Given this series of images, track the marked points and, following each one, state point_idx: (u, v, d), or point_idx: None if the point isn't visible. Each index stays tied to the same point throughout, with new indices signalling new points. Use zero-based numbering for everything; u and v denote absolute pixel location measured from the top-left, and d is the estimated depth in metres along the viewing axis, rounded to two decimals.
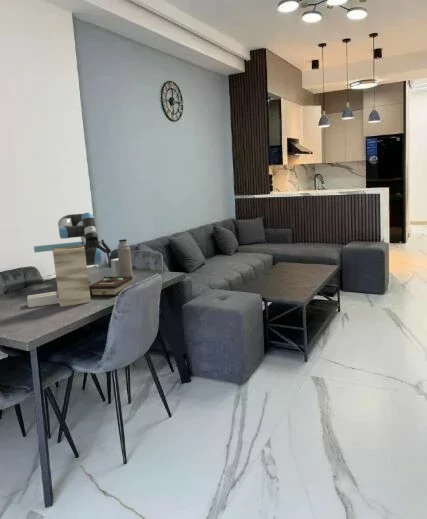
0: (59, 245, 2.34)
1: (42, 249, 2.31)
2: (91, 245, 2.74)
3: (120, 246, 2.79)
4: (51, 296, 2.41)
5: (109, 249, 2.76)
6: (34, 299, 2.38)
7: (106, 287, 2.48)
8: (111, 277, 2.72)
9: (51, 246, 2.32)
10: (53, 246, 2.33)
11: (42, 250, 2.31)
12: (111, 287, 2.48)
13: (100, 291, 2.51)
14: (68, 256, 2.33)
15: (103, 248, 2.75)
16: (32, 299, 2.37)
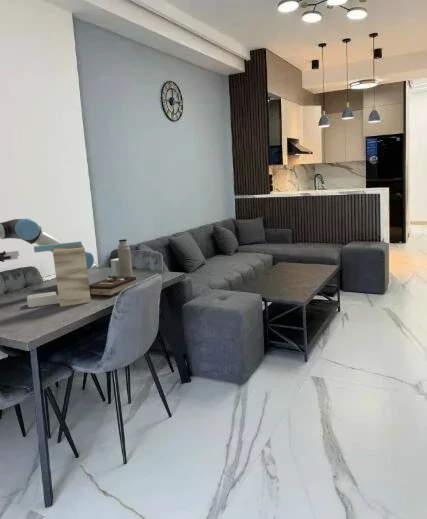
0: (59, 245, 2.34)
1: (42, 249, 2.31)
2: None
3: (120, 246, 2.79)
4: (51, 296, 2.41)
5: None
6: (34, 299, 2.38)
7: (103, 287, 2.48)
8: None
9: (51, 246, 2.32)
10: (53, 246, 2.33)
11: (42, 250, 2.31)
12: (107, 288, 2.47)
13: (98, 291, 2.51)
14: (68, 256, 2.33)
15: None
16: (32, 299, 2.37)
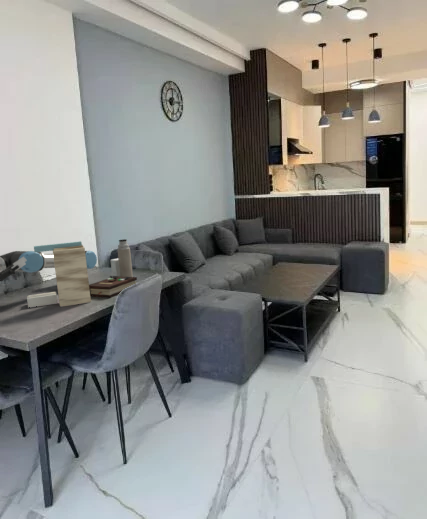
0: (59, 245, 2.34)
1: (42, 249, 2.31)
2: None
3: (120, 246, 2.79)
4: (51, 296, 2.41)
5: (10, 274, 2.20)
6: (34, 299, 2.38)
7: (102, 287, 2.48)
8: (117, 277, 2.72)
9: (51, 246, 2.32)
10: (53, 246, 2.33)
11: (42, 250, 2.31)
12: (106, 288, 2.47)
13: (97, 291, 2.51)
14: (68, 256, 2.33)
15: None
16: (32, 299, 2.37)
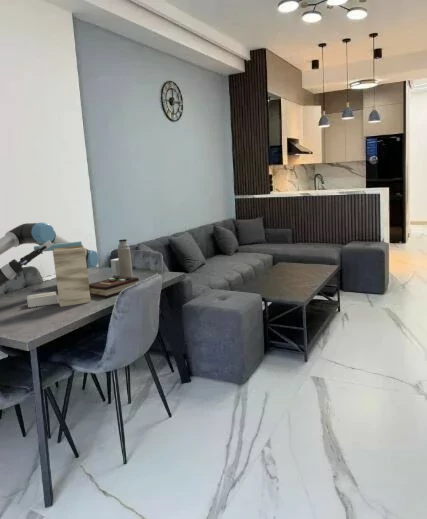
0: (59, 245, 2.34)
1: None
2: None
3: (120, 246, 2.79)
4: (51, 296, 2.41)
5: (38, 254, 2.27)
6: (34, 299, 2.38)
7: (99, 287, 2.49)
8: (121, 277, 2.72)
9: (51, 246, 2.32)
10: (53, 246, 2.33)
11: None
12: (103, 288, 2.47)
13: (96, 291, 2.52)
14: (68, 256, 2.33)
15: None
16: (32, 299, 2.37)
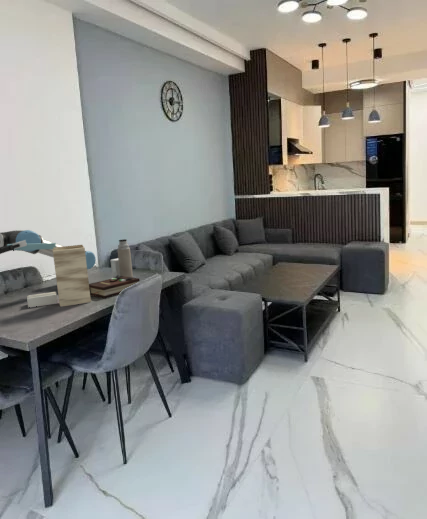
0: (33, 245, 2.34)
1: None
2: None
3: (120, 246, 2.79)
4: (51, 296, 2.41)
5: (9, 250, 2.27)
6: (34, 299, 2.38)
7: (98, 287, 2.49)
8: (123, 277, 2.71)
9: None
10: (27, 245, 2.33)
11: (15, 249, 2.31)
12: (101, 288, 2.47)
13: (95, 290, 2.53)
14: (68, 256, 2.33)
15: None
16: (32, 299, 2.37)
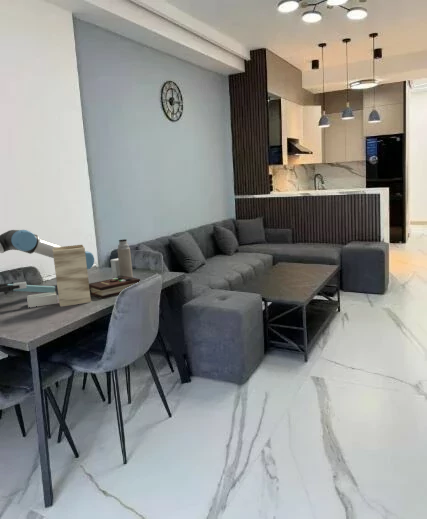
0: (32, 287, 2.39)
1: (15, 289, 2.36)
2: None
3: (120, 246, 2.79)
4: (51, 296, 2.41)
5: (8, 290, 2.32)
6: (34, 299, 2.38)
7: (96, 287, 2.49)
8: (126, 277, 2.70)
9: None
10: None
11: (15, 289, 2.36)
12: (99, 288, 2.47)
13: (95, 290, 2.54)
14: (68, 256, 2.33)
15: None
16: (32, 299, 2.37)
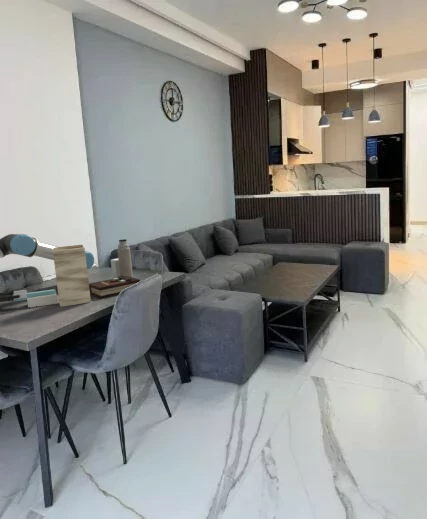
0: (33, 294, 2.40)
1: (17, 299, 2.37)
2: None
3: (120, 246, 2.79)
4: (51, 296, 2.41)
5: (8, 300, 2.31)
6: (34, 299, 2.38)
7: (96, 287, 2.50)
8: (127, 277, 2.69)
9: None
10: (27, 295, 2.39)
11: (16, 299, 2.37)
12: (98, 288, 2.47)
13: None
14: (68, 256, 2.33)
15: None
16: (32, 299, 2.37)
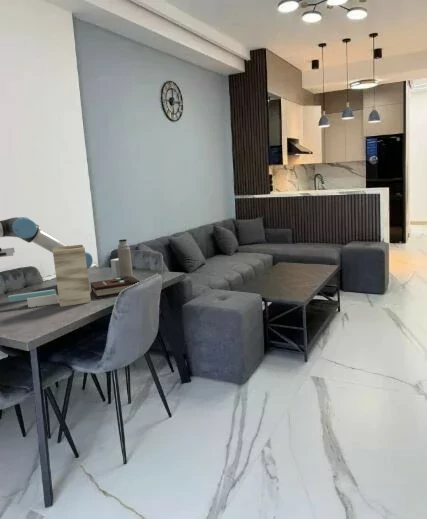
0: (33, 294, 2.40)
1: (17, 299, 2.37)
2: None
3: (120, 246, 2.79)
4: (51, 296, 2.41)
5: None
6: (34, 299, 2.38)
7: (93, 287, 2.51)
8: (130, 277, 2.67)
9: (25, 295, 2.38)
10: (27, 295, 2.39)
11: (16, 299, 2.37)
12: (94, 288, 2.48)
13: (94, 289, 2.56)
14: (68, 256, 2.33)
15: None
16: (32, 299, 2.37)
